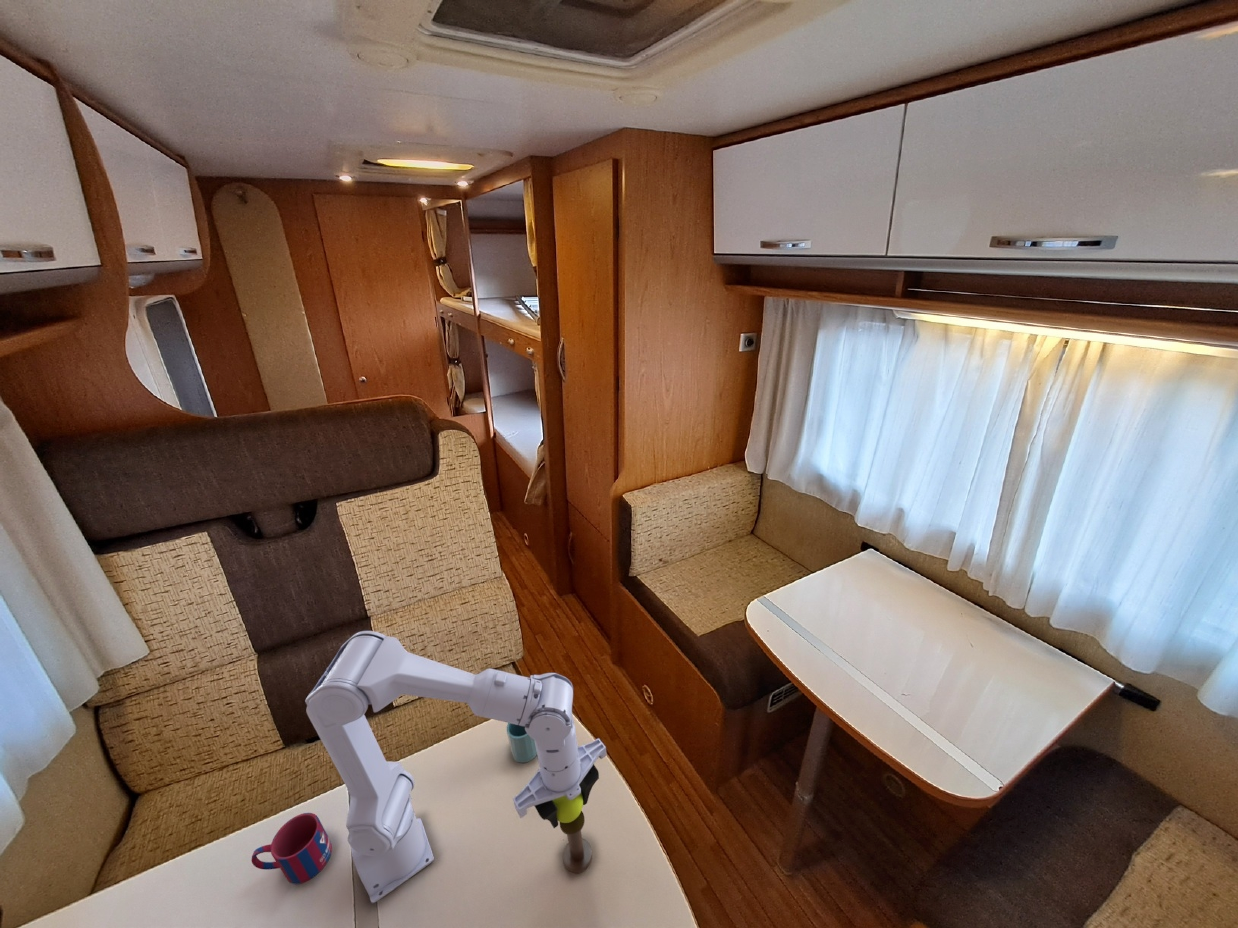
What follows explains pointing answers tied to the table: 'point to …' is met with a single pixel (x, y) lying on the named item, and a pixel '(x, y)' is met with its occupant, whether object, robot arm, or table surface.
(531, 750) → the tumbler
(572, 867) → the stand
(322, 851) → the cup
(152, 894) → the table surface
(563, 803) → the ball
